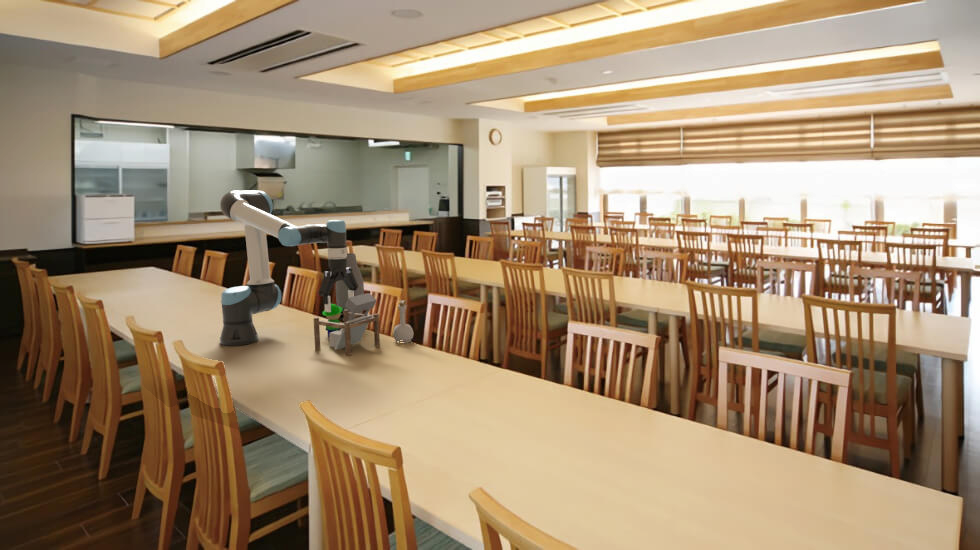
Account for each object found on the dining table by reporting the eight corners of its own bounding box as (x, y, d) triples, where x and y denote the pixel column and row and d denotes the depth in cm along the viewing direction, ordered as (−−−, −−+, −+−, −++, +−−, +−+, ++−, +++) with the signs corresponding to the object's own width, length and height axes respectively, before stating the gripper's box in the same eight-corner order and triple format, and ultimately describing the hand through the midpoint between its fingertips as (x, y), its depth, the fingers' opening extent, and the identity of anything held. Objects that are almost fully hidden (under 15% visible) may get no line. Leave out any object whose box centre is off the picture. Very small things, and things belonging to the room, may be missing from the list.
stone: (340, 348, 240) (329, 346, 243) (348, 345, 244) (338, 343, 247) (339, 334, 239) (329, 332, 242) (348, 332, 243) (337, 330, 246)
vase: (354, 321, 286) (350, 251, 280) (372, 325, 279) (368, 253, 273) (332, 327, 276) (328, 254, 269) (351, 331, 268) (346, 257, 262)
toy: (347, 335, 261) (346, 302, 259) (336, 339, 253) (335, 306, 251) (330, 333, 264) (329, 301, 262) (319, 338, 256) (317, 305, 253)
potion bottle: (415, 338, 254) (414, 298, 251) (410, 344, 246) (409, 302, 243) (395, 338, 255) (394, 298, 252) (390, 343, 246) (389, 302, 244)
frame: (315, 350, 238) (313, 318, 236) (347, 339, 253) (345, 309, 251) (348, 356, 228) (347, 323, 226) (379, 345, 244) (378, 314, 242)
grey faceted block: (335, 350, 235) (327, 341, 237) (359, 341, 247) (351, 334, 249) (355, 306, 226) (346, 298, 228) (379, 300, 238) (370, 292, 240)
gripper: (321, 262, 224) (324, 315, 228) (365, 255, 246) (367, 304, 249) (307, 260, 228) (310, 313, 231) (352, 254, 249) (354, 302, 253)
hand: (339, 308), depth 240 cm, fingers open, 13 cm apart
